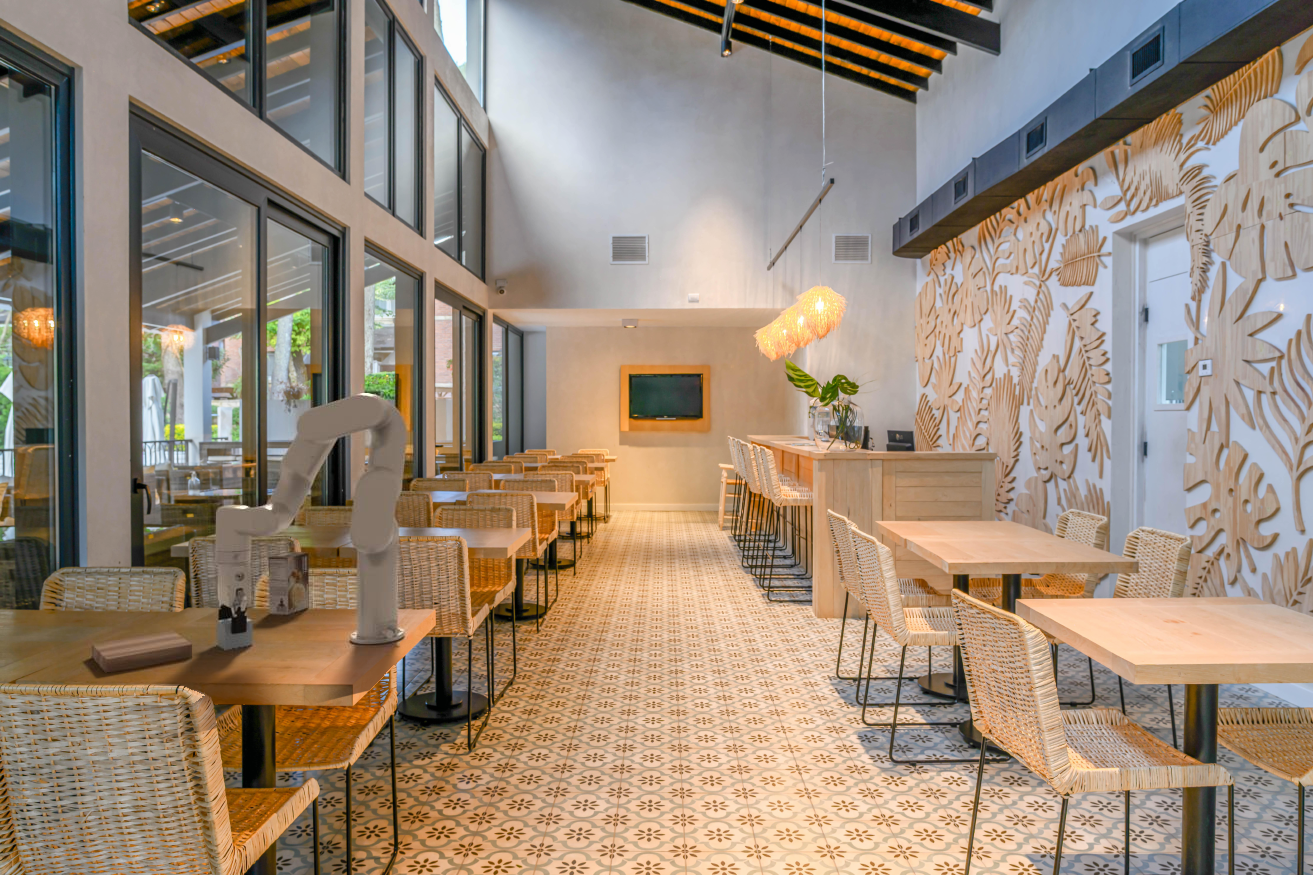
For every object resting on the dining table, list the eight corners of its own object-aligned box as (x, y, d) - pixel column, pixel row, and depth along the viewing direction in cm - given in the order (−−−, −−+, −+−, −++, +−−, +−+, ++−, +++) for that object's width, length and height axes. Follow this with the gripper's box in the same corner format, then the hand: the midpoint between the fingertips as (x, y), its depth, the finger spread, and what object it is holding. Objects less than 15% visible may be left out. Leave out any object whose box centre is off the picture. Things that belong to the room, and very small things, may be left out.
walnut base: (192, 657, 175) (191, 644, 174) (106, 673, 163) (106, 659, 163) (173, 643, 186) (173, 630, 186) (92, 657, 175) (92, 644, 175)
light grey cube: (252, 645, 184) (252, 620, 184) (224, 650, 180) (224, 625, 180) (244, 640, 189) (244, 616, 189) (217, 645, 184) (216, 620, 184)
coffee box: (290, 606, 224) (289, 551, 224) (309, 607, 223) (309, 552, 223) (268, 614, 215) (267, 556, 215) (288, 615, 214) (288, 557, 214)
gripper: (262, 560, 181) (261, 633, 181) (238, 551, 193) (237, 619, 193) (227, 563, 175) (226, 639, 175) (205, 554, 188) (204, 624, 188)
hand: (232, 628), depth 184 cm, fingers open, 9 cm apart
